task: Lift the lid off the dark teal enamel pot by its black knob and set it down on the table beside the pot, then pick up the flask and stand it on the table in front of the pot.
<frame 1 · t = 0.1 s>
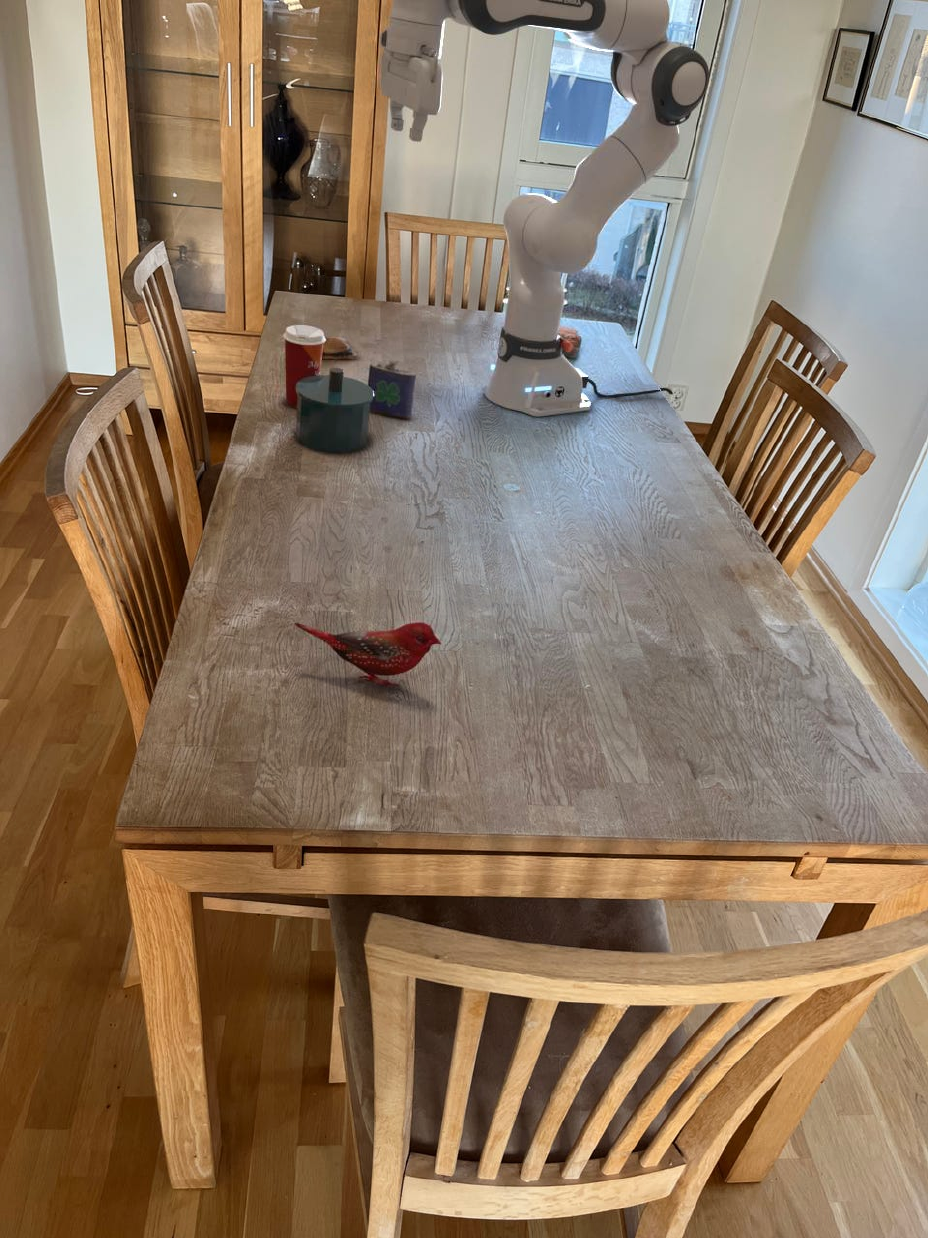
hand: (405, 135, 167), 48 cm above the table, tool pointing down, fingers open, 8 cm apart
pottery shard: (551, 347, 238), on the table
bread roll: (330, 353, 212), on the table
paper cup: (301, 403, 187), on the table
decorative bird figurine: (362, 681, 119), on the table
flask: (387, 414, 189), on the table
pot lid: (335, 392, 171), point 8 cm above the table, touching pot
pot: (331, 437, 176), on the table
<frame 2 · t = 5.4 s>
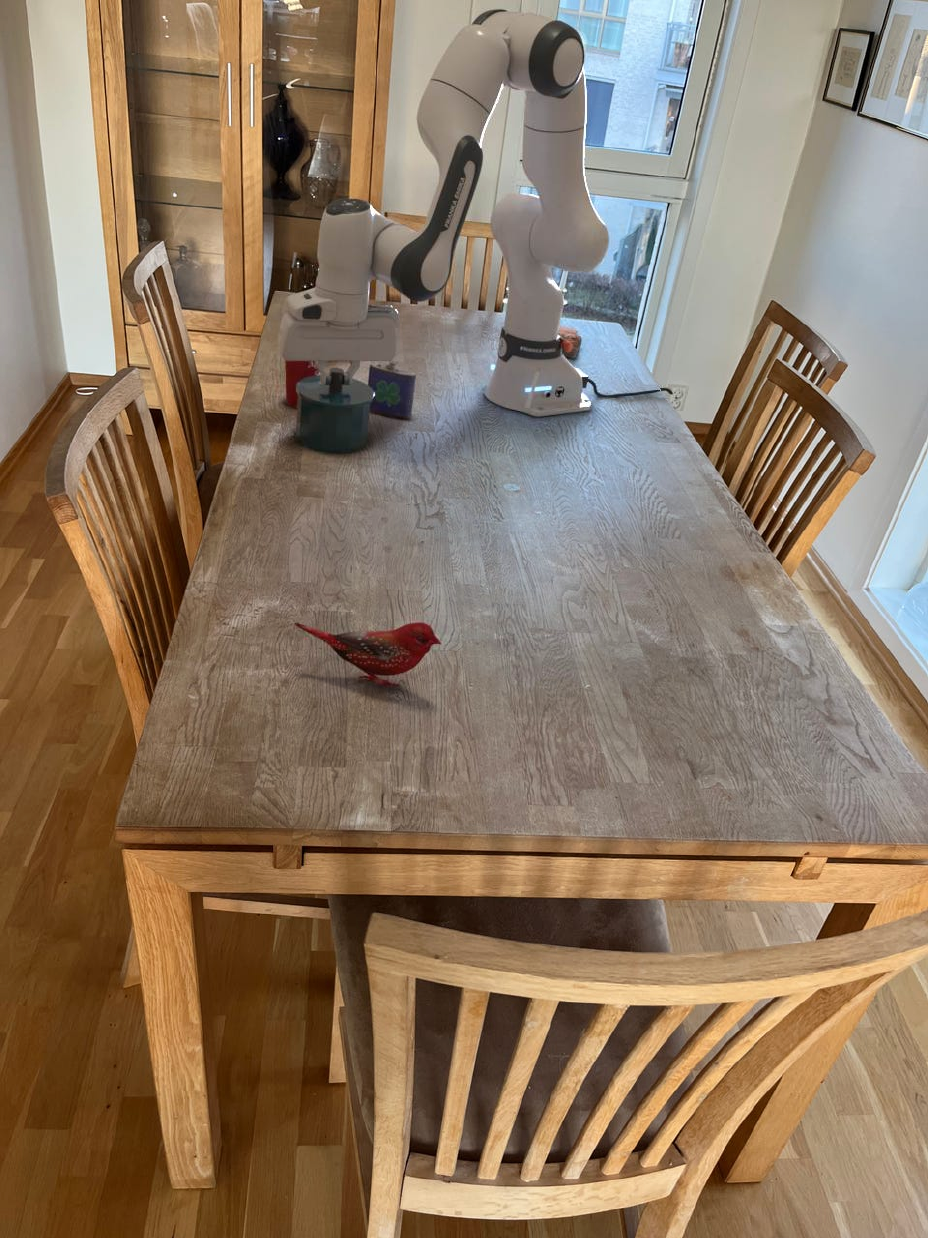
hand: (335, 383, 170), 10 cm above the table, tool pointing down, fingers closed on pot lid, 2 cm apart
pot lid: (335, 392, 171), point 9 cm above the table, touching gripper, pot
everything else where it was.
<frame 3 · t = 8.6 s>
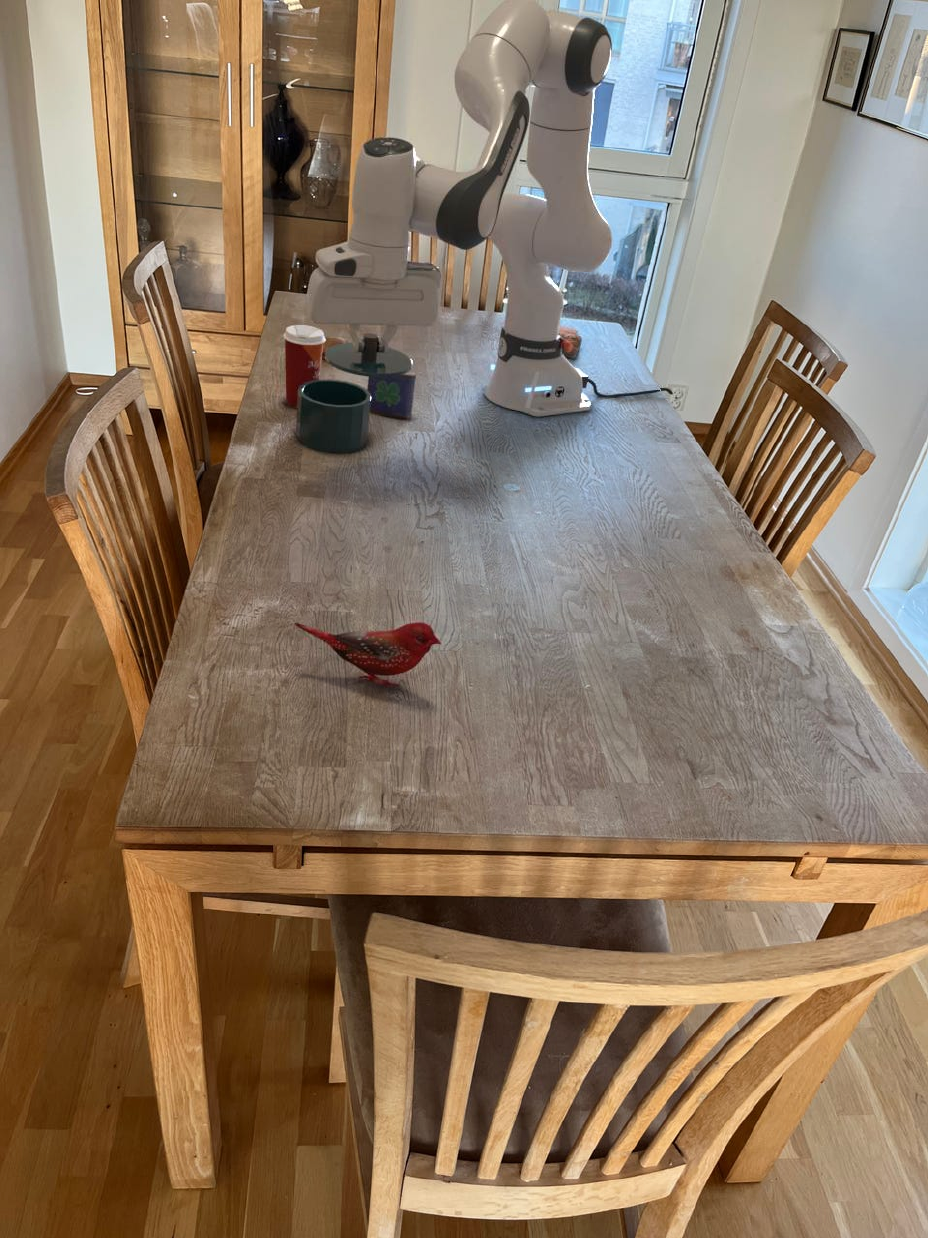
hand: (369, 351, 152), 22 cm above the table, tool pointing down, fingers closed on pot lid, 2 cm apart
pot lid: (368, 361, 153), point 20 cm above the table, touching gripper
everything else where it was.
when the fingers open (2 cm above the table, at t = 12.3 s): pot lid stays where it is, point 1 cm above the table.
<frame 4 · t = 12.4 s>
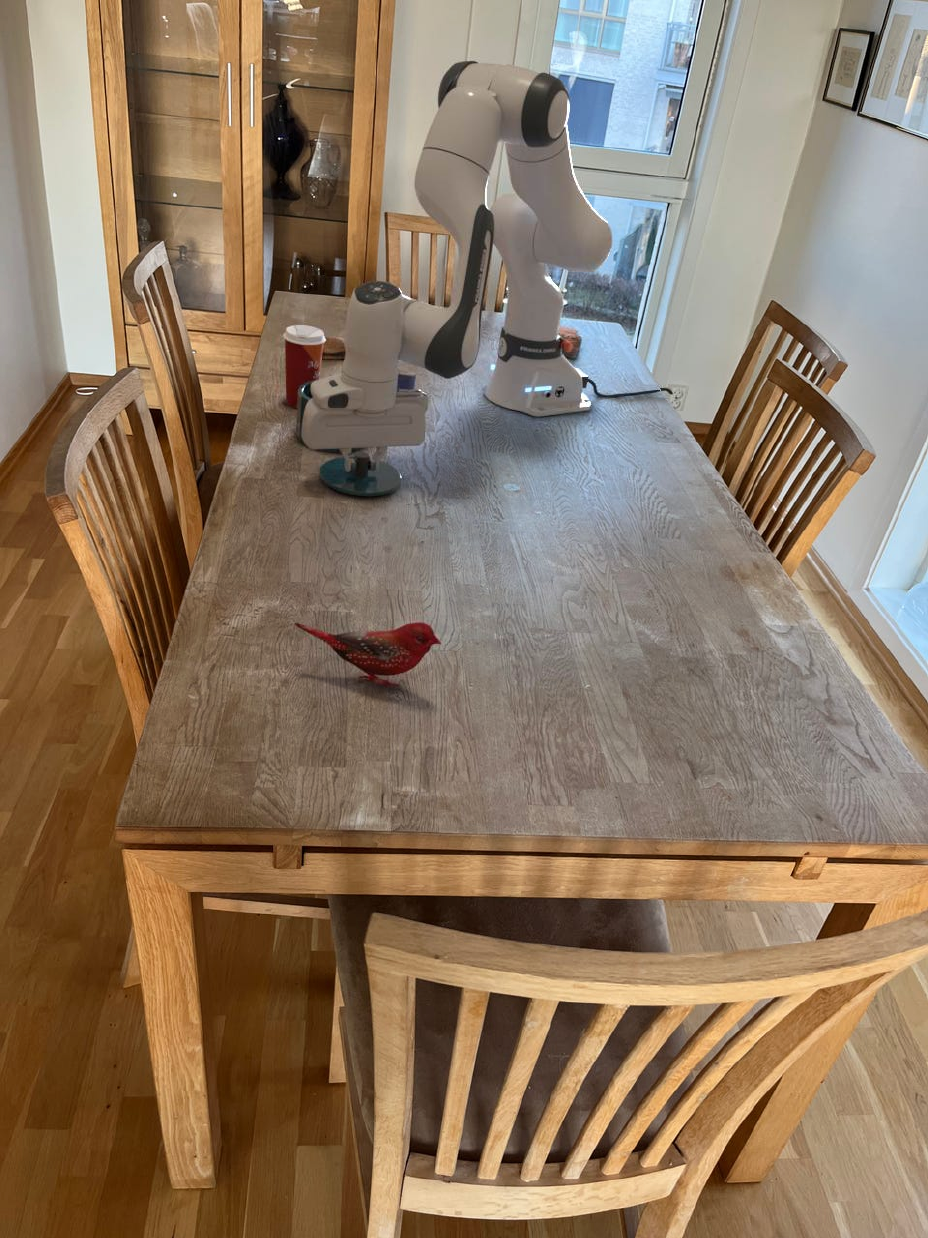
hand: (361, 469, 162), 2 cm above the table, tool pointing down
pot lid: (360, 477, 163), point 1 cm above the table
everything else where it was.
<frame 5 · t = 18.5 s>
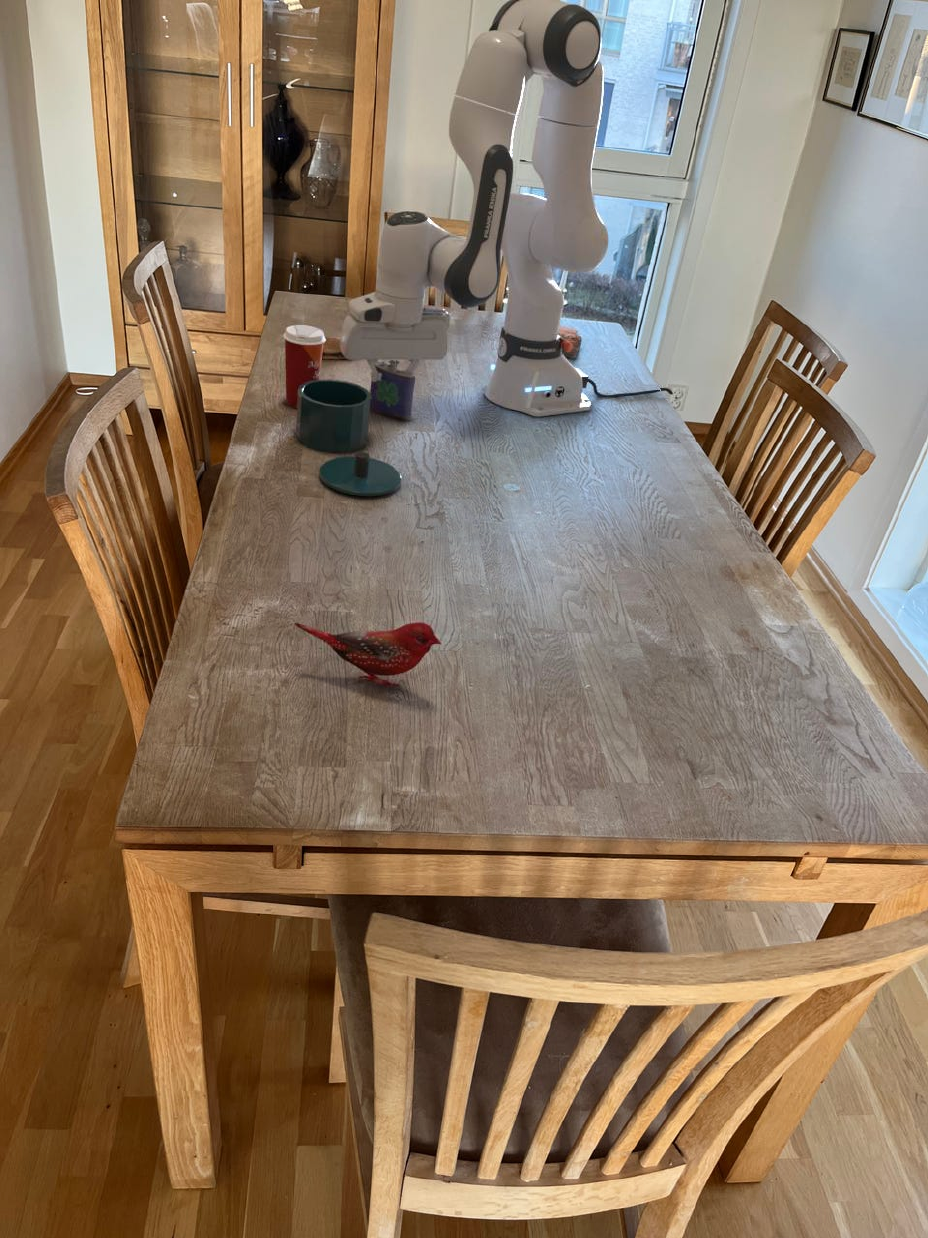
hand: (390, 380, 185), 7 cm above the table, tool pointing down, fingers closed on flask, 5 cm apart
flask: (388, 414, 189), on the table, touching gripper
everything else where it was.
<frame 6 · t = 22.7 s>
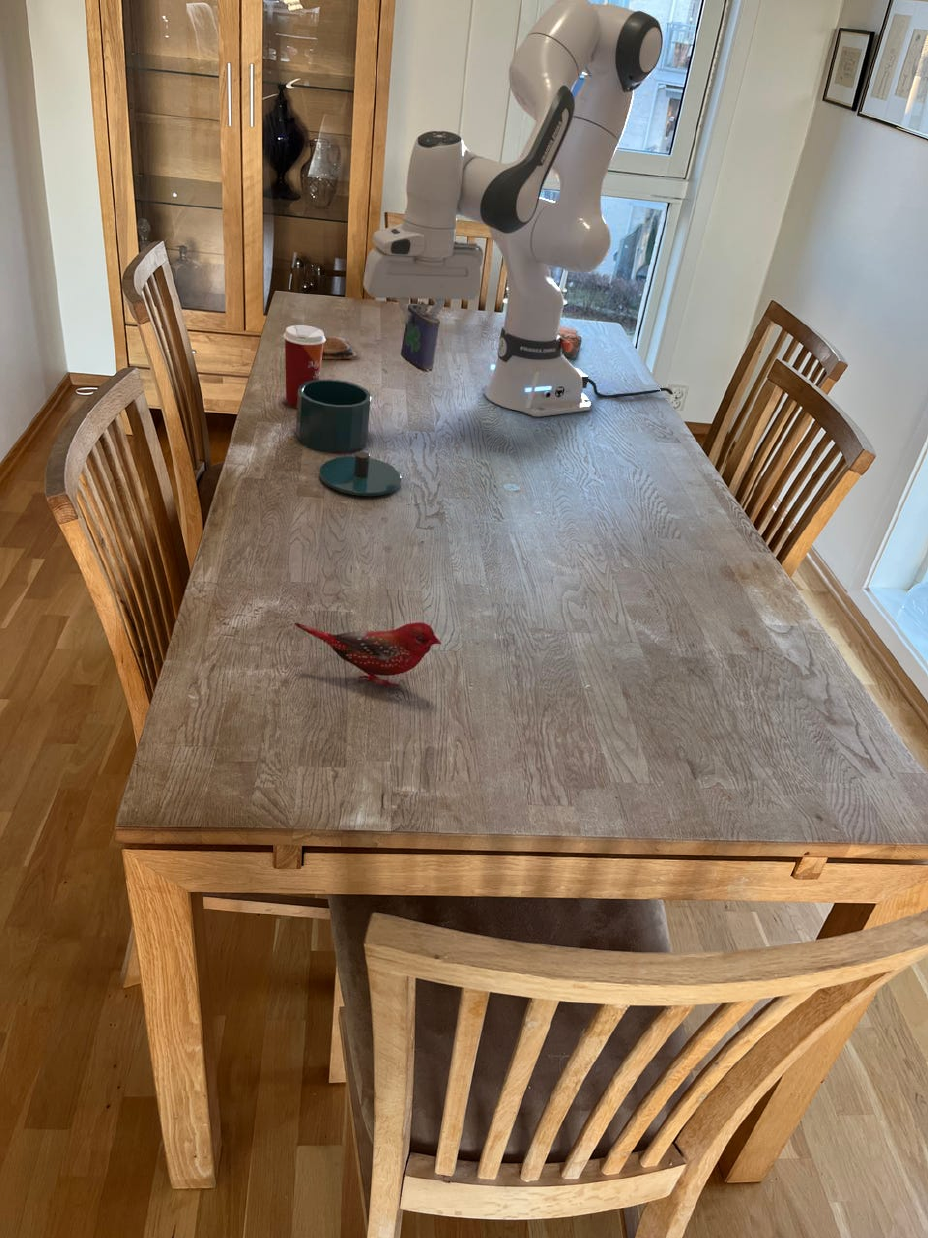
hand: (418, 322, 170), 21 cm above the table, tool pointing down, fingers closed on flask, 3 cm apart
flask: (415, 363, 173), point 14 cm above the table, touching gripper
everything else where it was.
when the fingers open (7 cm above the table, at t = 26.9 s): flask stays where it is, on the table.
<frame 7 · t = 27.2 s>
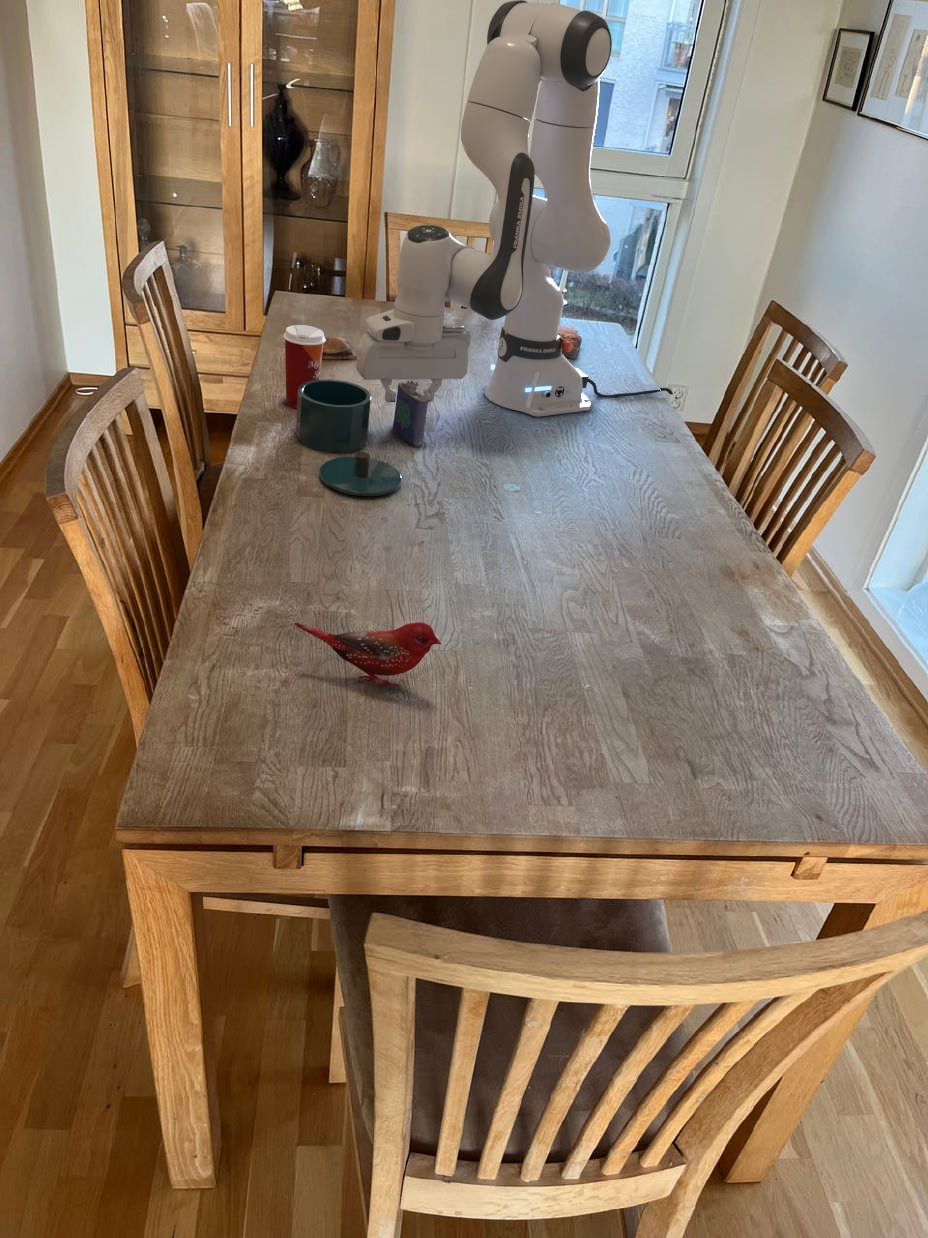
hand: (409, 400, 178), 7 cm above the table, tool pointing down, fingers open, 6 cm apart
flask: (406, 438, 181), on the table
everything else where it was.
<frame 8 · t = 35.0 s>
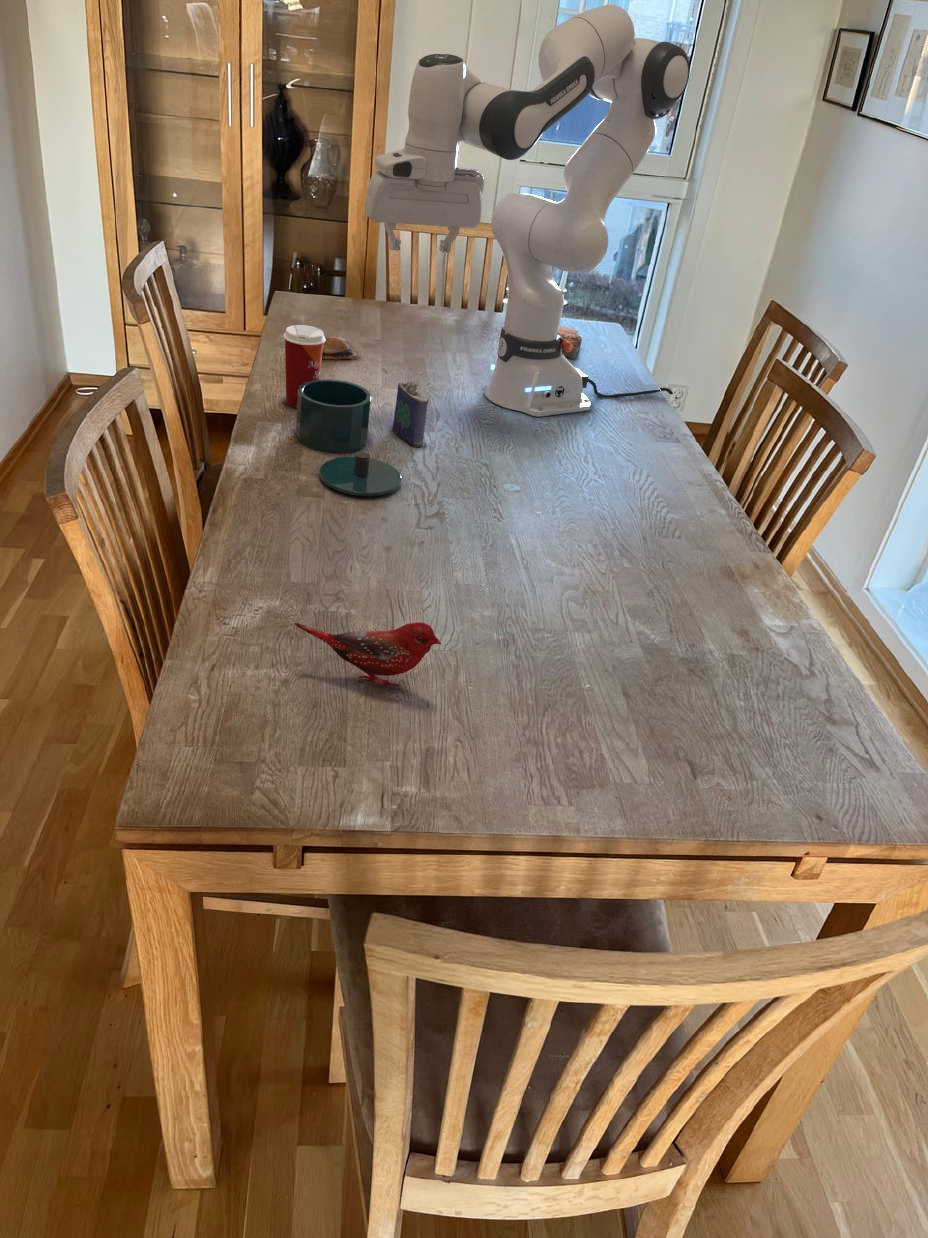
hand: (419, 250, 171), 31 cm above the table, tool pointing down, fingers open, 8 cm apart
nothing on the table moved.
at the end: pot lid inside the target area on the table beside the pot (0.0 cm from its centre), point 0.6 cm above the table; flask inside the target area on the table beside the pot (0.8 cm from its centre), on the table; flask tilted 0° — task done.
